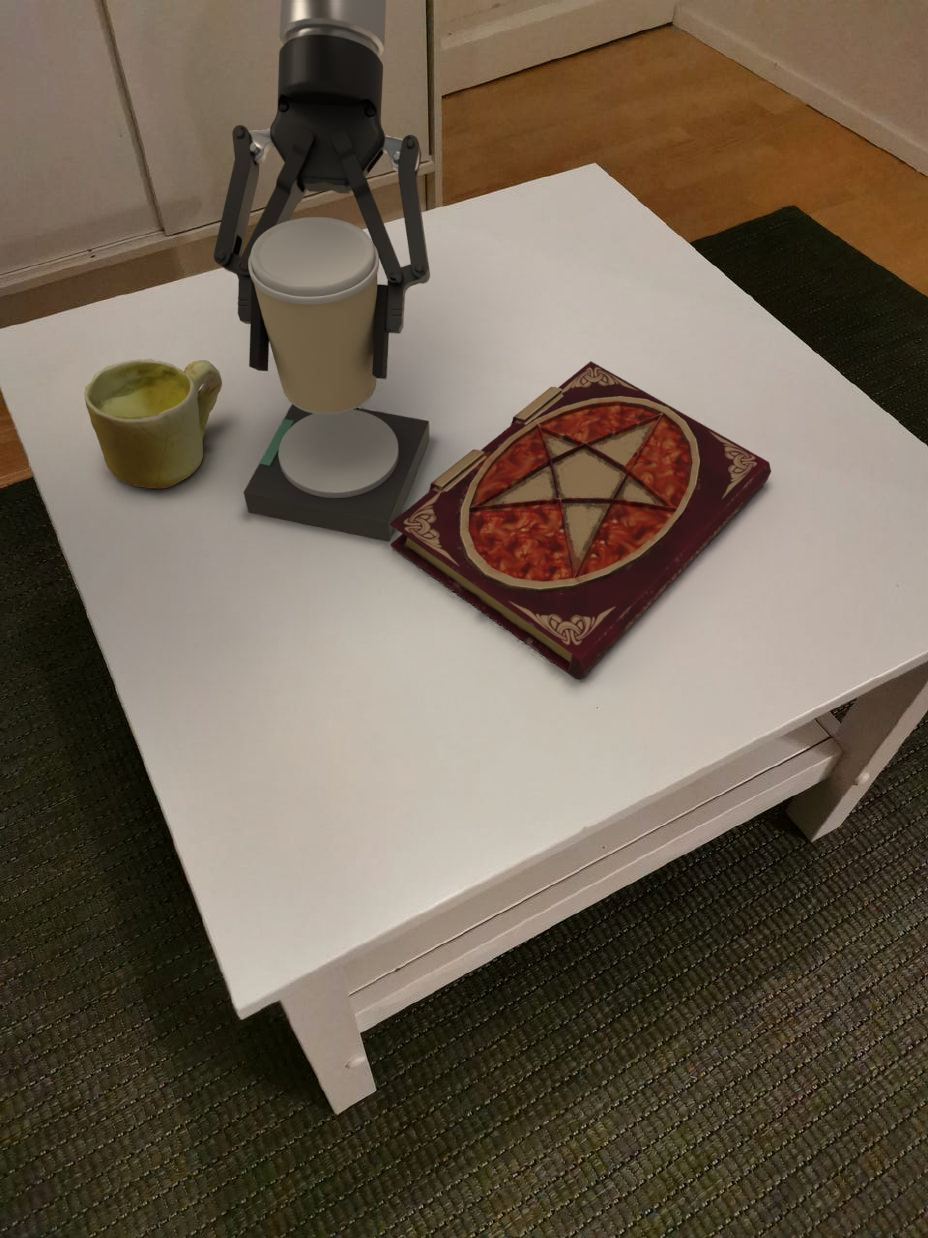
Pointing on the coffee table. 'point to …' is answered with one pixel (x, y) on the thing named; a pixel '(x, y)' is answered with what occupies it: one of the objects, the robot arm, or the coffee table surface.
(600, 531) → the book
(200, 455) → the mug
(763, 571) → the coffee table surface
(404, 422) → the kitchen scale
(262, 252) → the coffee cup
